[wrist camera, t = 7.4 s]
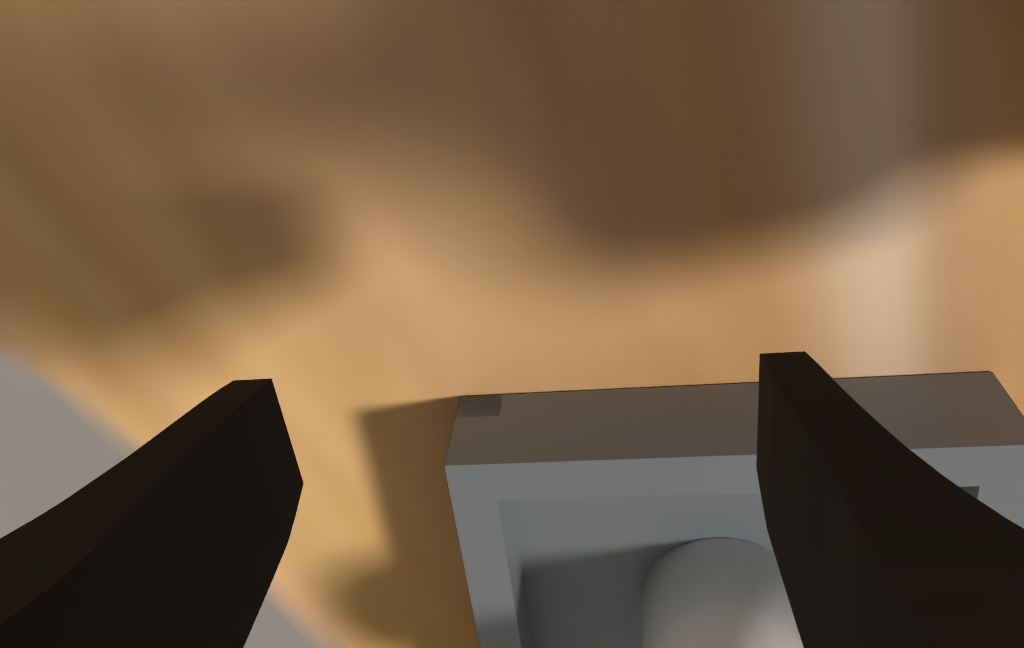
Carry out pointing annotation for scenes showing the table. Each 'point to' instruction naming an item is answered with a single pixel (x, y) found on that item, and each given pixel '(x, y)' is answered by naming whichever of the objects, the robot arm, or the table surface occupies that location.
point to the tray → (663, 488)
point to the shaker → (717, 598)
